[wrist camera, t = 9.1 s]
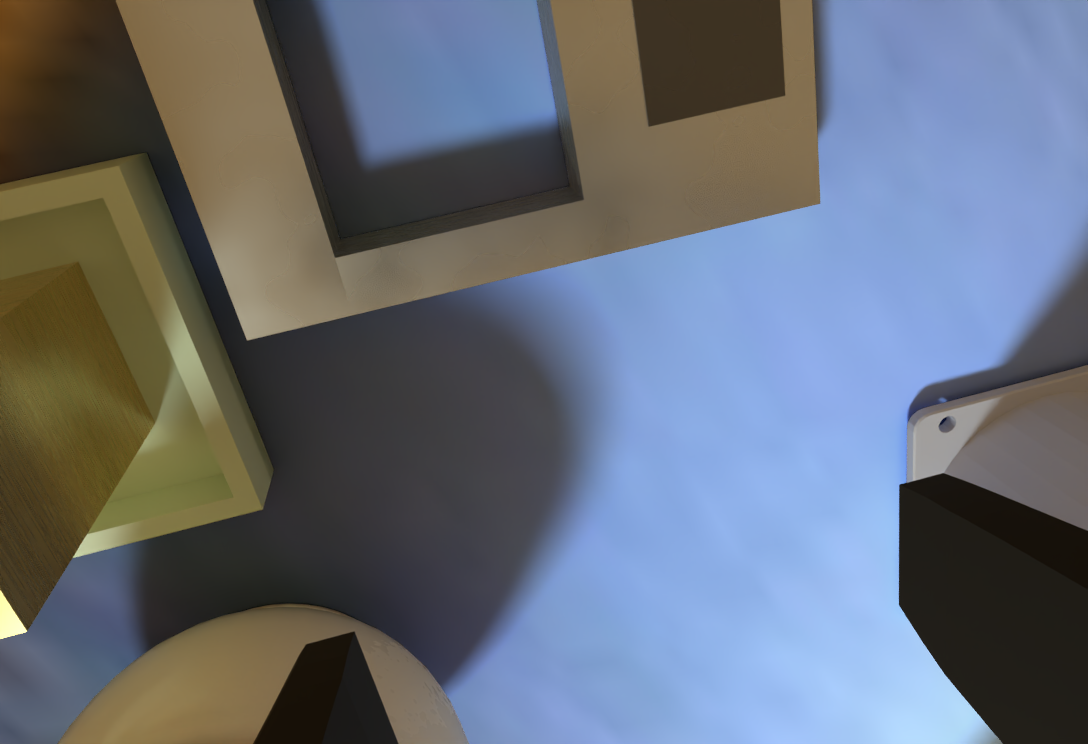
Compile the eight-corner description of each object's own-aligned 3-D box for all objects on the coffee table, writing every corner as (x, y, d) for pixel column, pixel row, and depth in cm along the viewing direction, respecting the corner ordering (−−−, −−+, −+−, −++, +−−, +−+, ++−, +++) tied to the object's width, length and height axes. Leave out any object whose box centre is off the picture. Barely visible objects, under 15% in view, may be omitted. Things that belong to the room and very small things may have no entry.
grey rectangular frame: (766, -202, 16) (803, -226, 14) (788, 190, 19) (821, 204, 18) (114, -72, 15) (82, -84, 13) (258, 315, 18) (246, 341, 17)
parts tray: (146, 152, 16) (118, 165, 15) (273, 469, 20) (262, 509, 18) (-251, 239, 16) (-326, 263, 14) (-50, 551, 19) (-91, 599, 18)
